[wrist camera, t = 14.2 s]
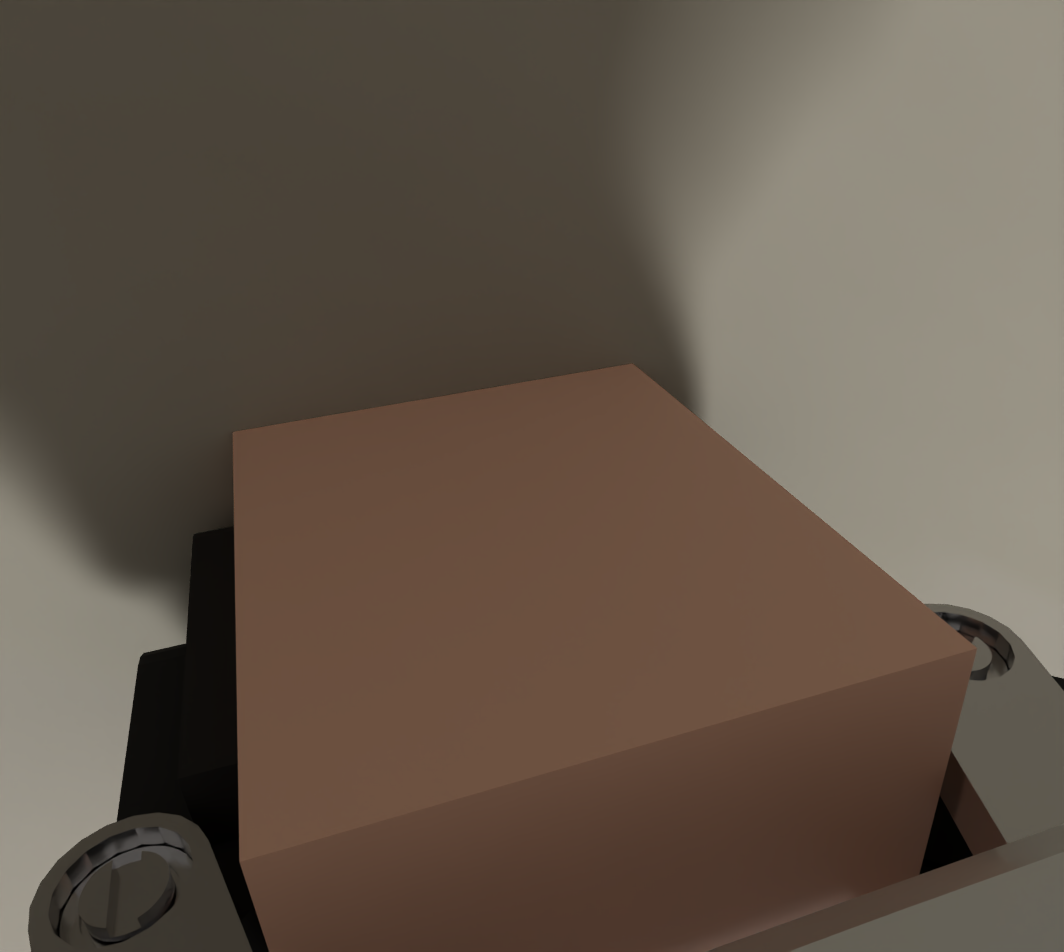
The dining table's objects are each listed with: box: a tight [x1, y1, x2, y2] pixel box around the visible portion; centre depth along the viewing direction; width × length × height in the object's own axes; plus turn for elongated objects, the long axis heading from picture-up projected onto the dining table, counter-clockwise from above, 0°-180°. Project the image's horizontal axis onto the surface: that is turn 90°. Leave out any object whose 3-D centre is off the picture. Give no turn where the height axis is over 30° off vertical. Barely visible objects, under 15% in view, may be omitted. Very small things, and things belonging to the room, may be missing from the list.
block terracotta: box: [233, 363, 977, 952], centre depth 9 cm, size 5×5×6 cm
